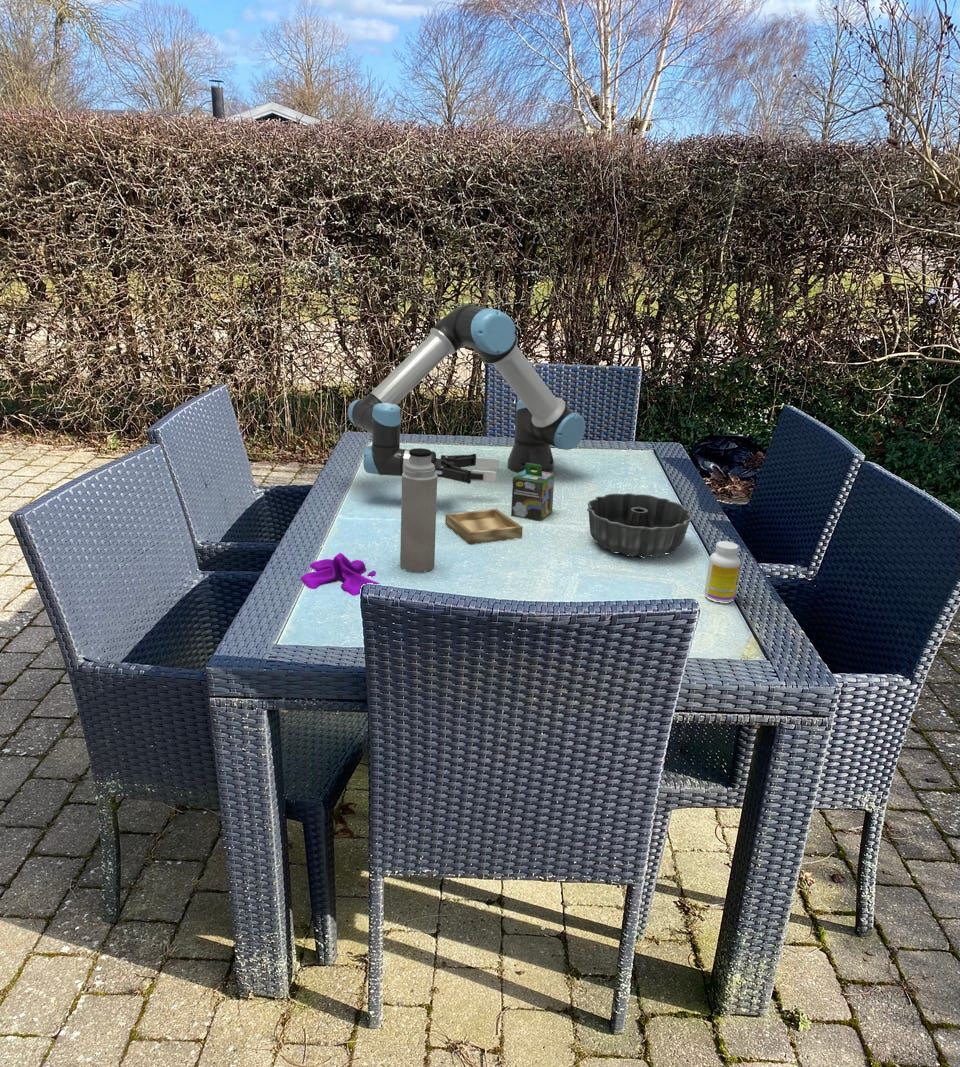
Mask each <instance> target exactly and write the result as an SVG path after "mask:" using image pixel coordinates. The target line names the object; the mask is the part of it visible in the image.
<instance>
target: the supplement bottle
mask: <svg viewBox="0 0 960 1067" xmlns="http://www.w3.org/2000/svg"><path fill="white" fill-rule="evenodd" d="M738 552H739V545H738V544H736V543H735V542H731V541H727V540H724V541H723V540H722V541H718V542H716V545H715V552H713V553H712V554H711V555H710V556H709V560H708V567H707V574H706V583H705V588H704V596H705V595H706V596H707V597H709V598H711V599H714V600H716V601H722V602H729V601H732V600H733V599H734V598H735V599H736V592H737V586H738V580H739V574H740V567H741V559H740V557H739V556H738V555H737V553H738ZM735 599H734V600H735Z"/></svg>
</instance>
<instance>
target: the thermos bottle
mask: <svg viewBox="0 0 960 1067" xmlns="http://www.w3.org/2000/svg"><path fill="white" fill-rule="evenodd" d="M431 451H432V450H431V449H428V448H423V447H422V448H419V447H417V448H416V447H415V448H411V449H410V451H409V454H410V456H409V462H408V463H406V464H405V472H403V473H402V476H401V497H400V498H401V501H400V502H401V503H400V504H401V507H400V508H401V509H400V549H399V550H400V552H399V553H400V554H399V555H400V557H399V566H400V568H401V569H402V568H403V569H405V570H407V571H406V572H408V571H411V572H410V573H414V572H422V573H426V572H425V571H428V572H430V571H432V570H434V568H435V562H436V561H435V557H436V531H437V530H436V529H437V526H436V525H437V495H438V477H437V474H436V473H434V470H435V466H434V464H433V463H431V456H430V455H431ZM403 569H402V570H403ZM405 570H404V571H405ZM429 570H430V571H429Z"/></svg>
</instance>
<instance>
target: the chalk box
mask: <svg viewBox="0 0 960 1067" xmlns="http://www.w3.org/2000/svg"><path fill="white" fill-rule="evenodd" d="M525 466H526V469H525V470H523V471H522V472H517V474H515V475H513V477H512V487H511V488H512V491H511V492H512V493H511V508H510V510H511V514H510V515H511V517H519V518H523V519H527V518H528V520H532V519H533V521H537V520H539V521H538V522H542V521H543V520H544V519H546V518H547V516H549V515H550V514H551V513H552V512H553V507H554V506H553V505H554V504H553V502H554V490H555V473H554V472H543V471H542V466H541V465H538V464H532V463H526V465H525ZM531 467H534V468H536V469H537V471H536V470H530V468H531Z"/></svg>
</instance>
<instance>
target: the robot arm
mask: <svg viewBox="0 0 960 1067" xmlns="http://www.w3.org/2000/svg"><path fill="white" fill-rule="evenodd" d="M429 331H430V333H429V334H430V335H429V336H427V338H426V339H424V340H423V341H422V343H420V344H419V345H418V346H417V348H415V349H414V350H413V351H412V352H411V353H410V354H409V355H408V356H407V357H406V358H405V359H404V360H403V361H402V362H401V363H399V365H397V366H396V368H394V369H393V371H392V372H390V373H389V374H388V375H387V377H385V378H384V379H383V380H382V381H381V382H380V383H379V384H378V385H377V386H376V387H375V388H374V389H373V390H372V391H371V392H370V393H369V394H367V395H366V397H365V398H363V399H356V400H353V401H352V402H351V403H350V405H349V406H348V407H347V417H348V419H349V421H350V422H351V423H352V424H354V425H355V427H357V428H358V429H362V430H365V432H366V431H367V432H368V433H370V434H371V435H372V436H371V437H372V440H371V442H372V444H371V445H370V446H366V447H365V450H364V451H363V452H364V453H363V459H362V460H363V463H362V464H363V465H362V466H363V469H364V472H366V473H368V474H371V475H372V474H373V475H379V476H394V477H396V476H397V477H402V473H403V472H405V464H406V463H408V462H409V456H410V454H409V451H410V450H411V449H409V448H408V449H407V448H400V446H401V441H400V439H401V422H402V418H401V407H400V406H399V405H398V404H399V403H400V402H401V401H402V400H403V399H404V398H405V397H406V396H407V395H408V394H409V393H410V392H412V390H414V389H415V388H416V387H417V385H419V384H420V383H421V381H422V380H424V378H426V377H427V376H428V375H429V374H430V373H431V372H432V371H433V370H434V369H435V368H436V367H437V366H438V365H439V364H440V363H441V362H442V361H443V360H444V359H445V358H446V357H447V356H448V355H454V354H455V353H456V352H458V350H459V349H462V348H463V347H464V348H465V347H468V348H472V350H474V351H475V352H476V353H477V354H478V355H479V357H480V358H481V360H482V361H483V362H484V363H485V364H487V365H493V366H494V367H495V369H496V370H497V372H498V373H499V374H500V375H501V377H502V378H503V379H504V381H505V382H506V383H507V385H509V387H510V388H511V389H512V391H513V392H514V393H515V394H516V396H517V397H518V398H519V399H518V400H517V402H516V409H515V426H514V428H515V429H514V441H513V442H514V443H513V446H512V448H511V451H510V454H509V457H507V458H508V459H507V468H508V469H509V470H511V471H513V472H517V473H519V472H522V471H523V470H525V469H526V466H525V465H526V463H532V464H538V465H541V466H542V471H543V472H549V471H551V472H553V471H554V470H555V468H554V467H555V460H554V457H553V456H554V455H553V453H552V449H551V446H553V447H555V448H556V449H558V450H562V451H563V450H565V451H569V450H573V449H574V448H576V447H577V446H578V445H579V444H580V443H581V442H582V440H583V438H584V435H585V431H586V421H585V419H584V417H583V416H582V415H580V414H579V413H577V412H574V411H572V410H571V409H570V407H569V406H568V404H567V403H566V402H565V401H564V399H563V398H561V397H557V396H556V397H555V396H554V394H553V393H552V392H551V390H550V389H549V387H548V386H547V385H546V384H545V382H544V381H543V379H542V378H541V377H540V375H539V374H538V372H537V371H536V370H535V369H534V367H533V366H532V365H531V363H530V362H529V359H527V358H526V356H525V354H523V352H522V351H521V350H520V348H519V347H518V342H519V340H518V336H517V335H516V331H517V330H516V326H515V323H514V321H513V319H512V318H511V317H510V316H509V315H508V314H507V313H505V312H503V311H501V310H499V309H496V308H490V307H489V308H488V307H484V306H479V305H475V304H465V305H461V306H459V307H457V308H455V309H452V311H450V312H449V313H447V314H446V315H445V316H443V317H442V318H441V319H440V320H439V321H438V322H437V323H436V324H435V325H434V326H432V328H430V330H429ZM430 451H431V455H430V456H431V463H433V464H434V466H435V470H434V473H436V474H437V478H445V479H448V480H453V481H457V482H461V483H464V484H465V483H466V484H468V485H469V484H471V483H472V481H475V482H485V483H496V482H497V471H489V470H479V469H471V470H468V469H466V467H475V468H482V469H483V468H485V469H494V470H495V469H496V470H498V469H499V468H500V458H495V457H494V458H491V457H479V456H477V453H472V454H456V455H455V454H454V455H452V454H451V455H444V454H442V455H440V458H437V453H436V452H435V451H432V450H430ZM553 469H554V470H553ZM530 470H536V471H537V469H536V468H534V467H531V468H530ZM552 470H553V471H552Z"/></svg>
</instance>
